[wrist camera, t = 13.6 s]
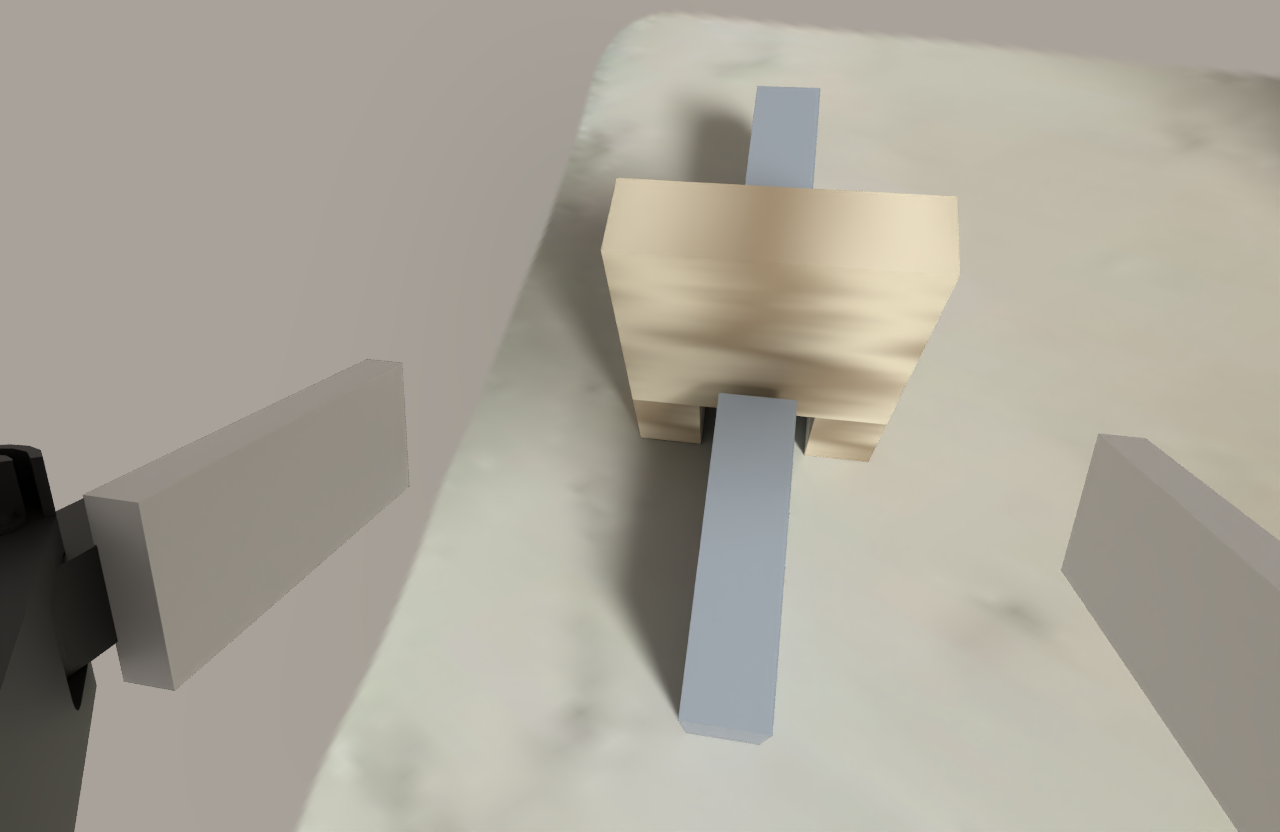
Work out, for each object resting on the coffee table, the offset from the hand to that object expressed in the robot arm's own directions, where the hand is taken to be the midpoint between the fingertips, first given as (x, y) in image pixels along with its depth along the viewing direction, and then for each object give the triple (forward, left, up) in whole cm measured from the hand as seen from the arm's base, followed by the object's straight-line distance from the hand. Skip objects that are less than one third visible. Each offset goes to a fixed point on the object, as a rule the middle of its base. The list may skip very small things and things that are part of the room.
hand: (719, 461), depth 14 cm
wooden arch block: (+2, -8, -14) cm, 16 cm away
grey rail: (+2, -8, -14) cm, 16 cm away
